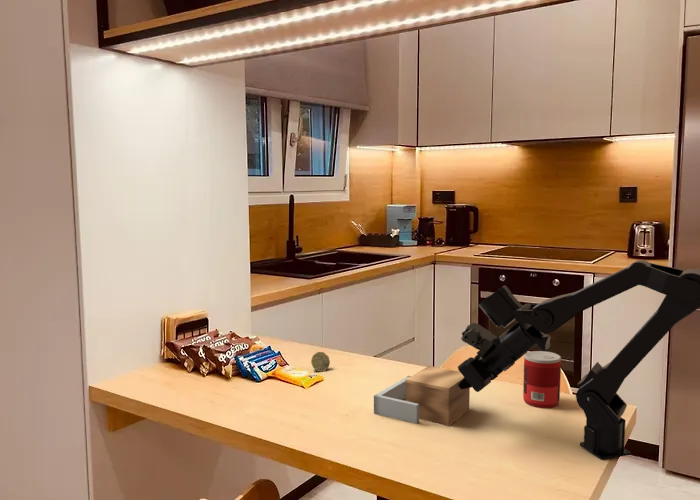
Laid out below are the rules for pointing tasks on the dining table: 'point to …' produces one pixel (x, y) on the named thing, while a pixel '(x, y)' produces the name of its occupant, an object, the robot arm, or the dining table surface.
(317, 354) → the olive speckled ball
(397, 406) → the bay
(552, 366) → the canned food
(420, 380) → the tea box
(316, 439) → the dining table surface
